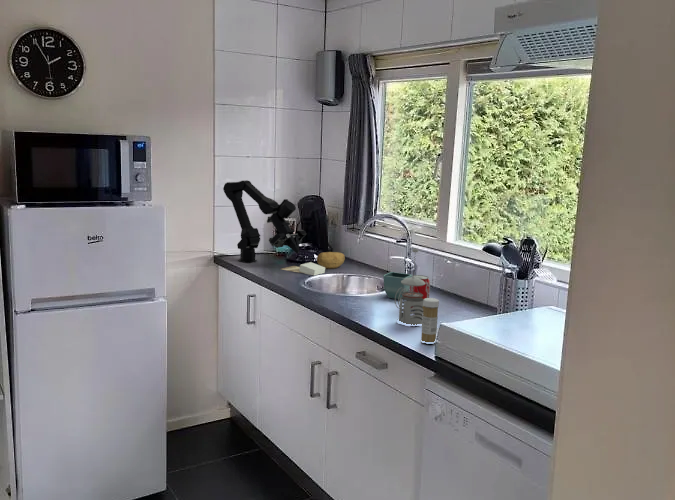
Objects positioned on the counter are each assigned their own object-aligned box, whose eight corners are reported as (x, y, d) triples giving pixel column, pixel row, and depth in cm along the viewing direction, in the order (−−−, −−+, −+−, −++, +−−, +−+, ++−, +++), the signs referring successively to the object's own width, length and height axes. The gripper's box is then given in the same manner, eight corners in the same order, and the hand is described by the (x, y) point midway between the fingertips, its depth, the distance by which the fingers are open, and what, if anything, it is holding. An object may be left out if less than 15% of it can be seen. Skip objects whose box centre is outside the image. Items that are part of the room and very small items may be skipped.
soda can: (423, 313, 219) (425, 279, 217) (405, 309, 223) (407, 276, 221) (431, 309, 225) (433, 276, 223) (413, 305, 229) (415, 273, 227)
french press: (431, 324, 206) (437, 249, 202) (404, 329, 199) (410, 252, 195) (411, 317, 214) (416, 245, 209) (385, 321, 207) (389, 247, 203)
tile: (300, 264, 272) (314, 270, 268) (310, 262, 278) (325, 267, 274) (298, 271, 273) (313, 277, 269) (309, 268, 279) (324, 274, 275)
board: (279, 270, 278) (279, 269, 278) (293, 267, 287) (293, 265, 286) (303, 275, 271) (303, 273, 271) (316, 271, 280) (316, 270, 280)
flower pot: (389, 293, 246) (391, 271, 244) (411, 297, 242) (412, 274, 240) (381, 298, 238) (382, 275, 236) (403, 301, 234) (404, 278, 232)
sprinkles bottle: (431, 340, 189) (434, 297, 187) (438, 345, 185) (442, 300, 183) (417, 341, 188) (420, 297, 186) (424, 346, 184) (428, 301, 181)
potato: (349, 269, 287) (350, 252, 286) (323, 272, 280) (324, 254, 278) (337, 265, 295) (338, 249, 294) (312, 268, 288) (312, 250, 286)
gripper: (284, 233, 293) (301, 260, 288) (256, 237, 278) (273, 265, 273) (298, 219, 287) (315, 246, 282) (270, 222, 272) (288, 251, 267)
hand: (298, 252), depth 277 cm, fingers closed
